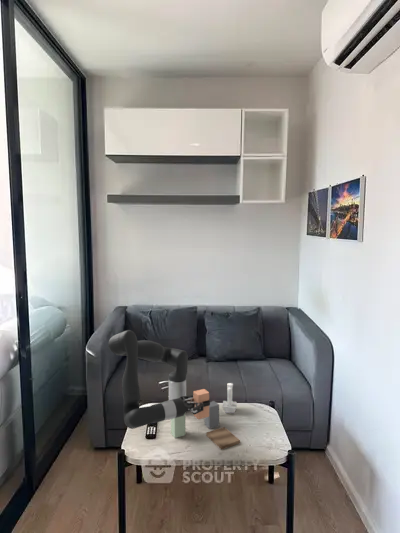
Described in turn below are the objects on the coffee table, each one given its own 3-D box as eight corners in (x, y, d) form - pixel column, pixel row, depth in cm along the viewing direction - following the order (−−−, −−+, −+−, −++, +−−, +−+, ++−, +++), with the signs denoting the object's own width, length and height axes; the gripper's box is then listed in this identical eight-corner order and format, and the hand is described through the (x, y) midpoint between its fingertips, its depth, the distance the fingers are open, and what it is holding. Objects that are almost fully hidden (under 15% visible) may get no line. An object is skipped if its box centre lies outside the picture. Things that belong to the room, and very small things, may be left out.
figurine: (236, 407, 203) (236, 380, 201) (236, 415, 193) (236, 387, 192) (223, 406, 204) (223, 379, 202) (222, 414, 194) (222, 387, 193)
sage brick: (170, 433, 176) (170, 411, 175) (181, 430, 179) (181, 408, 178) (174, 438, 172) (174, 415, 171) (185, 435, 175) (185, 412, 174)
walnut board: (206, 435, 175) (206, 432, 174) (224, 429, 180) (224, 427, 179) (221, 449, 163) (221, 446, 163) (240, 443, 168) (240, 440, 168)
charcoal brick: (204, 424, 184) (204, 403, 183) (214, 422, 187) (214, 400, 186) (209, 429, 180) (209, 407, 179) (219, 426, 183) (219, 404, 182)
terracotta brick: (193, 415, 167) (193, 391, 166) (204, 412, 170) (204, 388, 168) (198, 419, 163) (198, 395, 162) (209, 416, 166) (209, 392, 165)
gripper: (179, 407, 152) (215, 398, 160) (165, 394, 165) (199, 386, 173) (179, 425, 153) (215, 415, 161) (165, 410, 165) (199, 401, 174)
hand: (206, 400), depth 167 cm, fingers closed on terracotta brick, 4 cm apart
